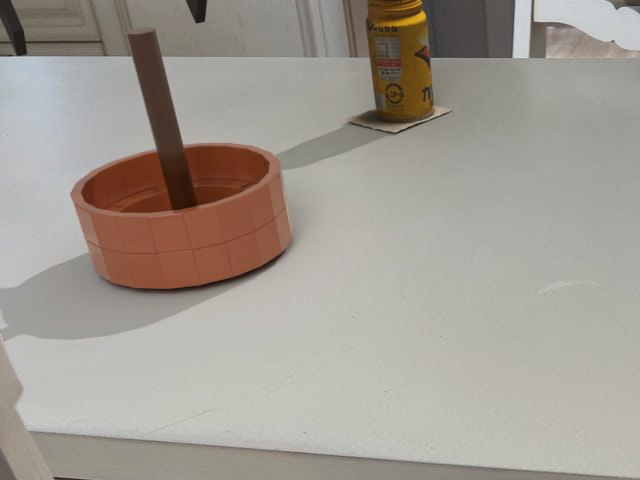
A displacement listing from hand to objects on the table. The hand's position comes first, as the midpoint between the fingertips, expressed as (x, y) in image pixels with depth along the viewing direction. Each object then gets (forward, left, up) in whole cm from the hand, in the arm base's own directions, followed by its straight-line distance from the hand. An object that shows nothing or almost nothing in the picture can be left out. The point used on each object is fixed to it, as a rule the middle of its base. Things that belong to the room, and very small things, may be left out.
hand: (114, 27), depth 75 cm
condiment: (+13, +29, -16) cm, 35 cm away
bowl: (+5, -5, -15) cm, 17 cm away
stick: (+5, -5, -15) cm, 16 cm away
